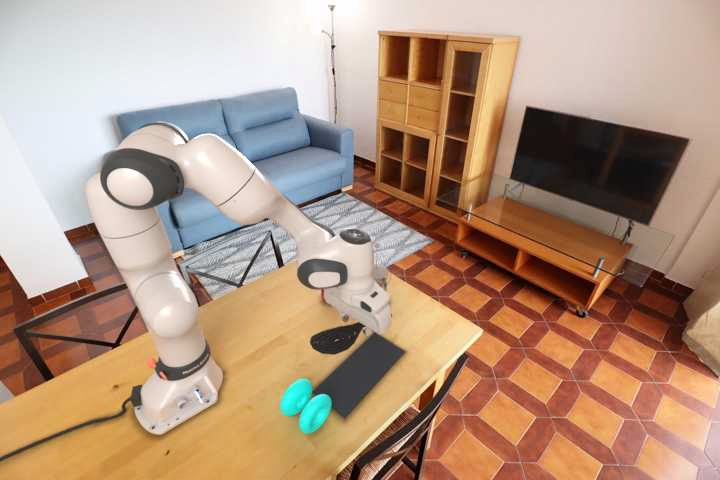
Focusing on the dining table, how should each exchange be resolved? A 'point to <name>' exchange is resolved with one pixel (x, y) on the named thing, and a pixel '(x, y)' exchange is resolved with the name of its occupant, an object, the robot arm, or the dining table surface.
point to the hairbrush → (326, 339)
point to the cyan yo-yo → (305, 405)
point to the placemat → (359, 373)
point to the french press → (380, 272)
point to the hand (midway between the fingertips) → (356, 326)
